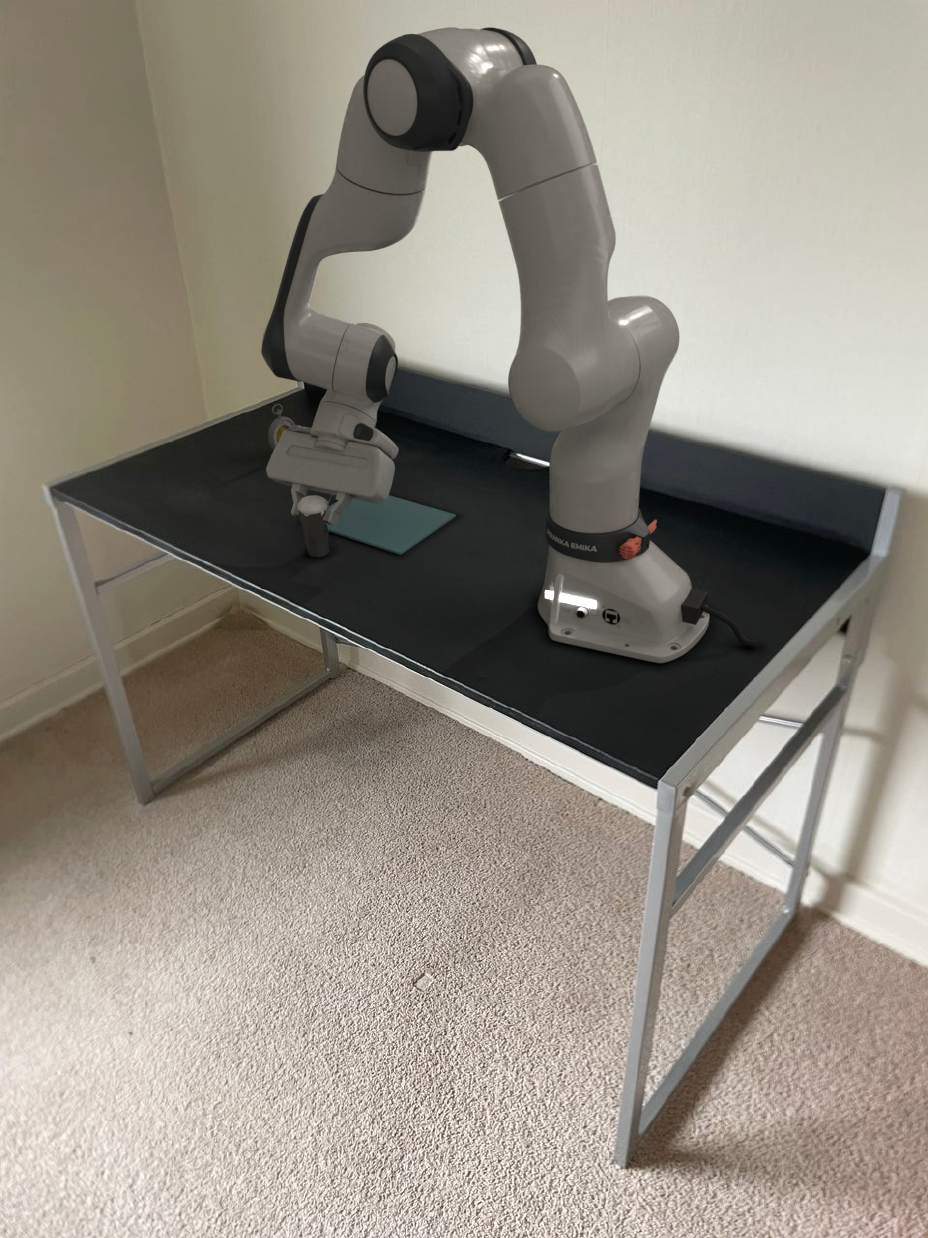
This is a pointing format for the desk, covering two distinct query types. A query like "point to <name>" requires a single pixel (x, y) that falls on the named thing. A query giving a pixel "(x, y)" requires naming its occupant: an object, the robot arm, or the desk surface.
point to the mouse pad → (389, 523)
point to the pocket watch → (278, 427)
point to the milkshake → (314, 524)
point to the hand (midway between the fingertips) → (313, 520)
